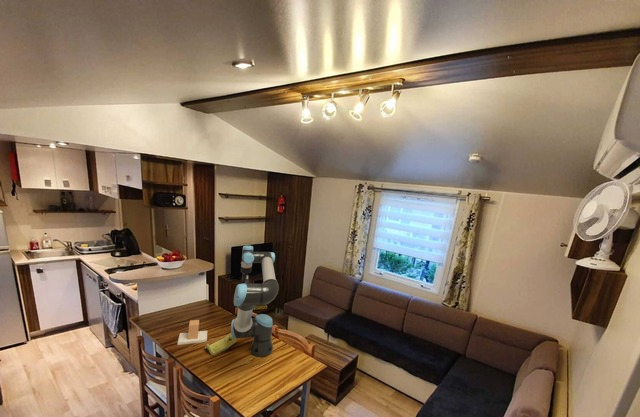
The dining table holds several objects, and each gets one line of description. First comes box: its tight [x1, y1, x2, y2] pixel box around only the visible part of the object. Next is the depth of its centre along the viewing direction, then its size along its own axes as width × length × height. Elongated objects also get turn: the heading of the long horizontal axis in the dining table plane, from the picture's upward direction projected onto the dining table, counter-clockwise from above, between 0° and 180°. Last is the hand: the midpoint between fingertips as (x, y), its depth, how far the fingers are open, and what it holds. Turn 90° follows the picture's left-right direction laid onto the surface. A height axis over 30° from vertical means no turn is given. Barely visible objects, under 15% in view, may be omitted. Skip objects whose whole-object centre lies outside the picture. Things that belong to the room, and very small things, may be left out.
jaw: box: [187, 319, 200, 340], centre depth 182 cm, size 7×6×10 cm
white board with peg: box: [177, 330, 208, 346], centre depth 182 cm, size 12×18×6 cm, turn 111°
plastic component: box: [204, 332, 238, 356], centre depth 176 cm, size 20×7×10 cm
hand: (244, 295), depth 191 cm, fingers open, 13 cm apart
